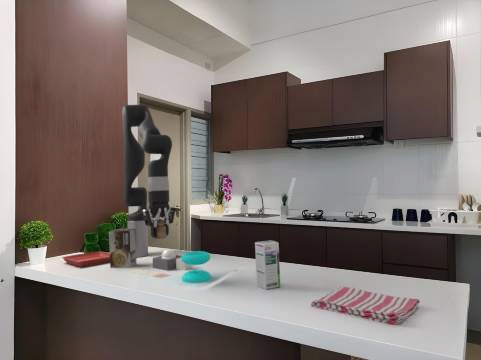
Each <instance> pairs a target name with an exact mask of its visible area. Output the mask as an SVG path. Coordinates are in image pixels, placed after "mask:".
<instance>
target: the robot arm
mask: <svg viewBox="0 0 481 360" xmlns="http://www.w3.org/2000/svg"><path fill="white" fill-rule="evenodd" d="M121 118H122V129H123V169H124V170H123V171H124V181H123V182H124V186H123V203H124V206H126V207H130V208H131V207H139V209H138V210H137V211H134V212H131V213H130V214H127V229H135V235H136V258H143V257H146V256H147V257H148V256H149V235H148V233H149V232H148V227H150V236H151V238H153V239H154V238H157V227H156V226H157V221H158V220H159V219H162V220H163V221H164V226H166V237H168V236H169V233H170V231H169V230H170V225H172V224H173V223H174V220H175V214H176V209H177V208H176V207H173V206H172V207H171V206H170V205H169V202H170V182H169V181H170V180H169V170H168V169H169V159H170V156H171V151H172V147H173V140H172V139H171V137H170V136H169V135H167V134H161V132H160V130H159V129H158V127H157V126H156V125H155V123H154V120H153V117H152V114H151V112H150V109H149V108H148V106H147V105H145V104H125V105H124V106H122V110H121ZM135 127H138V133H139V134H138V135H139V136H140V138H141V139H142V143H141V144H142V145H141V144H140V143H139V142H138V141H139V140H137V139H136V137H135V135H134V133H133V131H132V128H135ZM145 153H146V154H147V155H148V154H149V155H160V158H158V159H154V160H151V161H149V162H148V163H147V172H148V173H147V175H148V178H147V179H148V180H147V188H146V187H143V186H139V187H132V186H133V184H134V182H135V180H136V178H137V177H138V176H139V175H140V174H141V173H142V171H143V170H144V168H145V158H146V154H145ZM148 204H149V205H148ZM147 205H148V206H147Z"/></svg>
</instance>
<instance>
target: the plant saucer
mask: <svg viewBox="0 0 481 360" xmlns="http://www.w3.org/2000/svg"><path fill="white" fill-rule="evenodd" d="M61 258H62V259H63V260H64V262H66V263H67V264H68V265H71V266H75V267H78V268H84V267H85V268H86V267H91V266H97V265H103V264H107V263H110V252H105V251H94V252H93V251H92V252H87V253H79V254H73V255H68V256H62V257H61Z"/></svg>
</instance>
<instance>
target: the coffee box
mask: <svg viewBox="0 0 481 360" xmlns="http://www.w3.org/2000/svg"><path fill="white" fill-rule="evenodd" d="M108 239H109V240H108V242H109V244H108V245H109V253H110V262H109V263H110V267H109V268H110V269H117V268H118V269H120V268H121V269H124V268H126V269H128V268H129V269H131V268H133V267H135V266H137V264H138V263H137V257H136V235H135V229H128V228H115V229H112V230H109V231H108Z"/></svg>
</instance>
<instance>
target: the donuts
mask: <svg viewBox="0 0 481 360" xmlns="http://www.w3.org/2000/svg"><path fill="white" fill-rule="evenodd" d="M181 256H182V257H181V260H182V261H183V262H184V263H185V264H188V265H191V266H199V265H204V264H206V263H208V262H209V261H210V260H211V255H210V253H209V252H207V251H203V250H202V251H201V250H197V251H196V250H195V251H193V250H192V251H187V252H185V253H183V254H182V255H181ZM211 279H212V275H211V273H210V272H209V271H206V270H203V269H191V270H188V271H185V272H184V273H183V275H182V277H181V281H182V282H184V283H189V284H197V283H198V284H199V283H206V282H208V281H210V280H211Z"/></svg>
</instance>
